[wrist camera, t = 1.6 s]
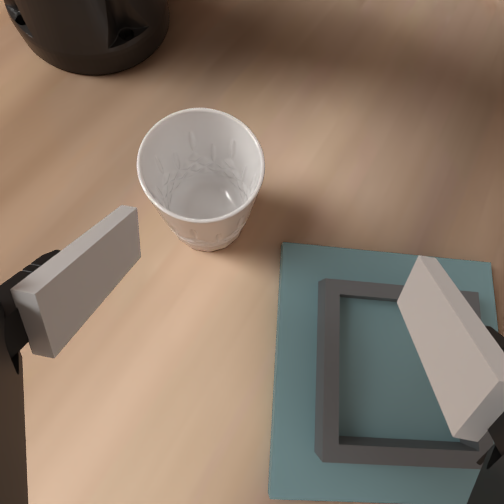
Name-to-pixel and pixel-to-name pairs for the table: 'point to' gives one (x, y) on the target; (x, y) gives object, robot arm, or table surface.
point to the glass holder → (363, 383)
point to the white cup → (202, 175)
